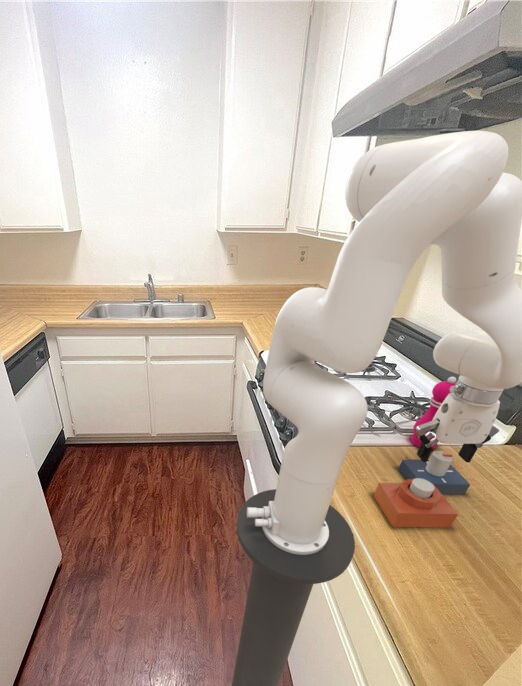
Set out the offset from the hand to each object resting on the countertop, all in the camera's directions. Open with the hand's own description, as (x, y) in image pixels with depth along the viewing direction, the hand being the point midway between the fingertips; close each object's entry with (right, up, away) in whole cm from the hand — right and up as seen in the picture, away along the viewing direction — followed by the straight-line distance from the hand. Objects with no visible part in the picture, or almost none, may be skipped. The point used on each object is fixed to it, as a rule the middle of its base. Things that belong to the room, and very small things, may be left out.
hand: (442, 458), depth 79 cm
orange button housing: (-10, -11, -5) cm, 16 cm away
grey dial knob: (0, -3, +2) cm, 4 cm away
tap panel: (0, -6, +4) cm, 7 cm away
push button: (-10, -6, -8) cm, 15 cm away
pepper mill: (+7, +3, +17) cm, 18 cm away
